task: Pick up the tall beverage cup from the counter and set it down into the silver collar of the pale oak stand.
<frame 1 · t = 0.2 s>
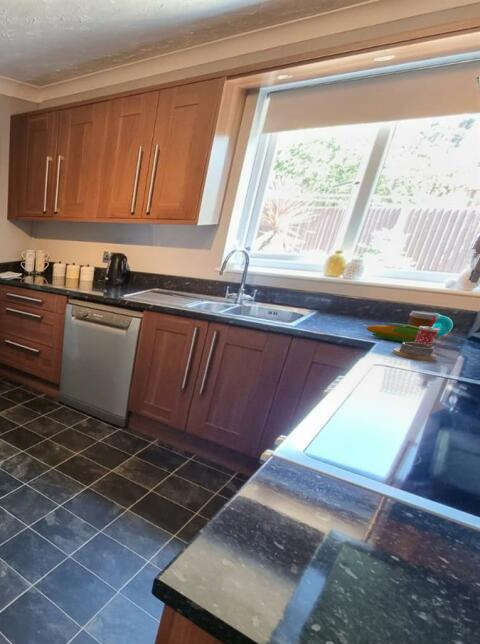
hand: (472, 281, 169), 28 cm above the countertop, tool pointing down, fingers open, 8 cm apart
donuts: (428, 335, 201), on the countertop
stand: (413, 356, 167), on the countertop
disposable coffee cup: (413, 339, 193), on the countertop
corn: (391, 340, 190), on the countertop
beverage cup: (419, 349, 177), on the countertop
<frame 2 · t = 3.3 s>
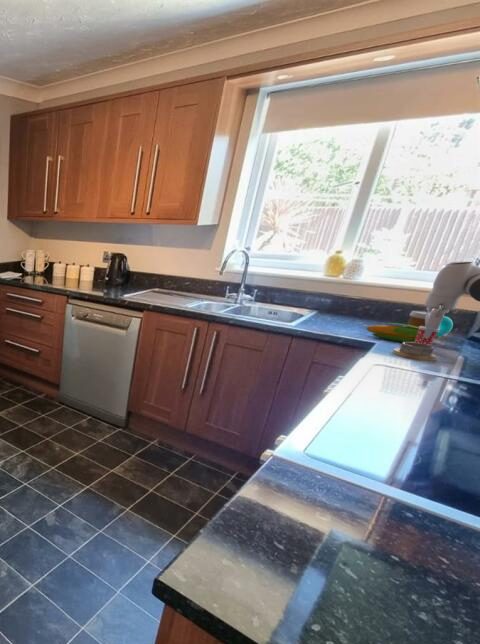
hand: (425, 336, 175), 5 cm above the countertop, tool pointing down, fingers closed on beverage cup, 6 cm apart
beverage cup: (419, 349, 177), on the countertop, touching gripper
everything else where it was.
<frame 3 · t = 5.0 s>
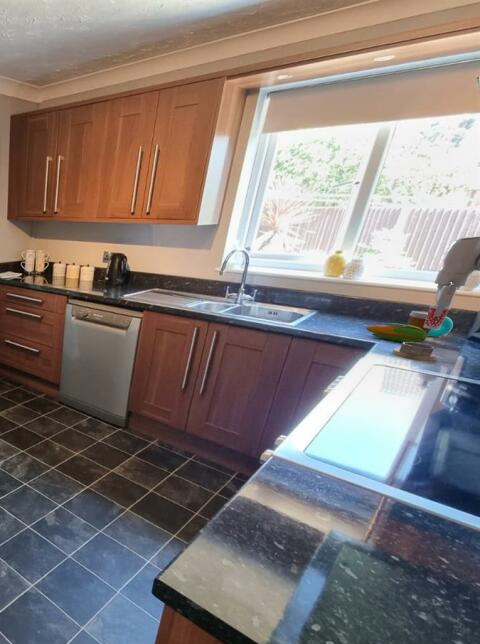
hand: (436, 314, 172), 15 cm above the countertop, tool pointing down, fingers closed on beverage cup, 6 cm apart
beverage cup: (430, 328, 174), point 9 cm above the countertop, touching gripper
everything else where it was.
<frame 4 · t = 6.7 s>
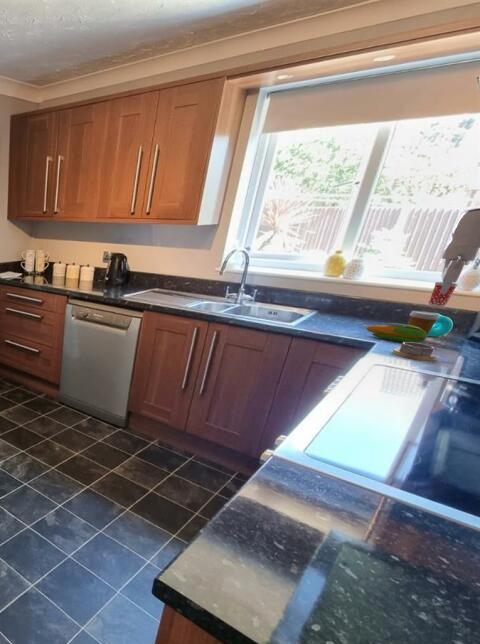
hand: (442, 292, 161), 24 cm above the countertop, tool pointing down, fingers closed on beverage cup, 6 cm apart
beverage cup: (435, 307, 163), point 19 cm above the countertop, touching gripper
everything else where it was.
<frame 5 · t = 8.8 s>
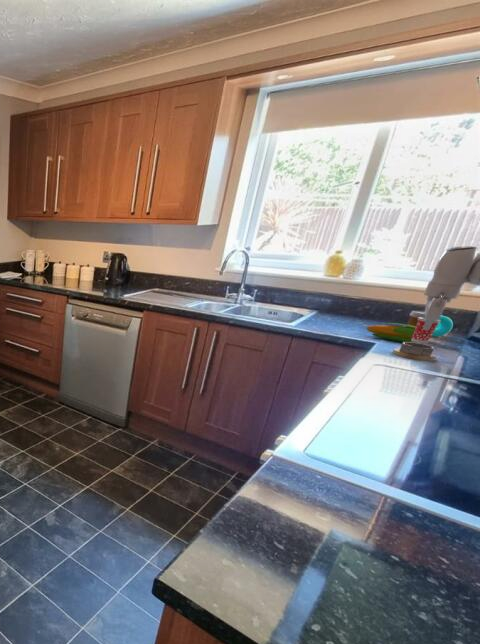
hand: (425, 328, 162), 11 cm above the countertop, tool pointing down, fingers closed on beverage cup, 6 cm apart
beverage cup: (418, 342, 165), point 6 cm above the countertop, touching gripper
everything else where it was.
when the fingers open (7 cm above the countertop, at t = 10.5 s): beverage cup stays where it is, resting on stand.
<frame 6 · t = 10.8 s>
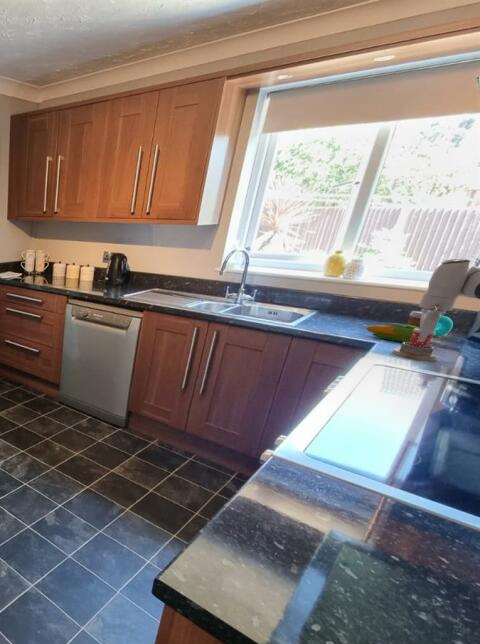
hand: (420, 339, 164), 7 cm above the countertop, tool pointing down, fingers open, 8 cm apart
beverage cup: (414, 352, 166), point 1 cm above the countertop, touching stand
everything else where it was.
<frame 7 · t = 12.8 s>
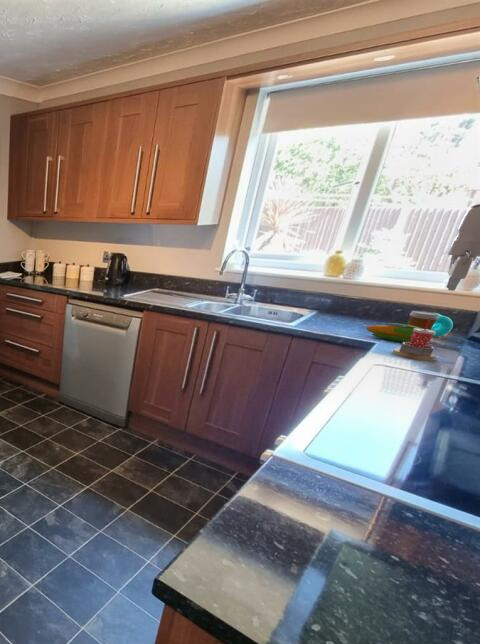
hand: (450, 289, 159), 26 cm above the countertop, tool pointing down, fingers open, 8 cm apart
nothing on the countertop moved.
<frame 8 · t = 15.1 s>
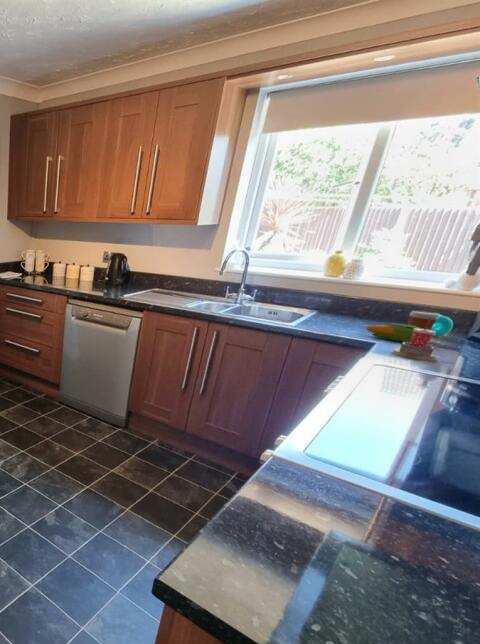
hand: (470, 274, 162), 31 cm above the countertop, tool pointing down, fingers open, 8 cm apart
nothing on the countertop moved.
at the end: beverage cup 0.0 cm off-centre on the stand, point 1.3 cm above the stand's base; beverage cup tilted 0°; the gripper is holding nothing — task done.
